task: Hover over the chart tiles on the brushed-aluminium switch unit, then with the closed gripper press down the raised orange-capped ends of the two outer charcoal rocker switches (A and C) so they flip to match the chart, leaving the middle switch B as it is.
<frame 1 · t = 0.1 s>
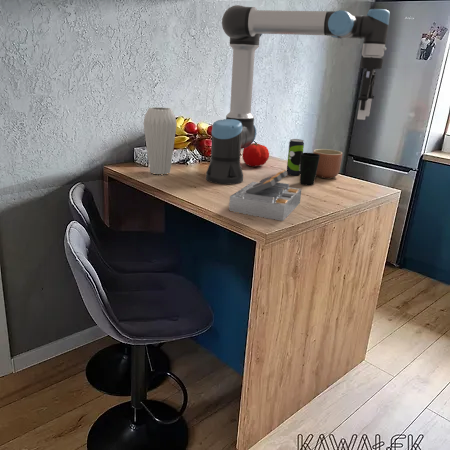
hand: (363, 117, 170), 28 cm above the table, fingers open, 13 cm apart
switch unit: (266, 206, 154), on the table
switch B: (267, 182, 151), point 9 cm above the table, hinge at -28.0°
beverage can: (293, 174, 201), on the table
planter: (324, 177, 200), on the table
switch A: (260, 186, 145), point 9 cm above the table, hinge at -28.0°
tomato: (254, 166, 213), on the table
cup: (306, 184, 186), on the table
vase: (160, 173, 190), on the table
switch C: (273, 177, 157), point 9 cm above the table, hinge at -28.0°
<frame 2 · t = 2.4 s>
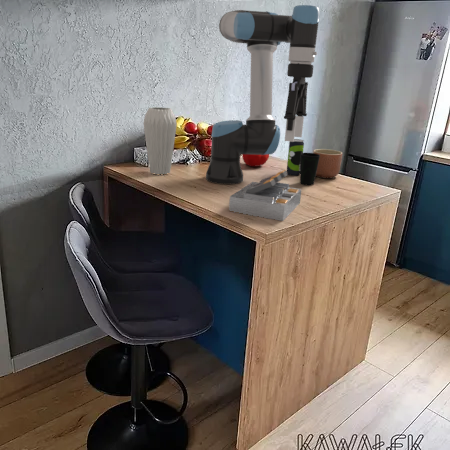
hand: (293, 138, 143), 24 cm above the table, fingers open, 9 cm apart
nothing on the table moved.
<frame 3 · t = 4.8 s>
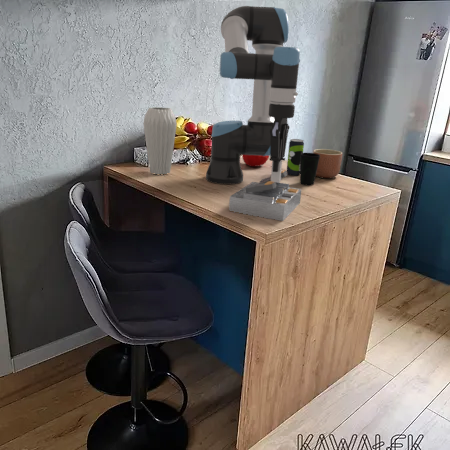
hand: (275, 181, 142), 11 cm above the table, fingers closed
switch A: (260, 186, 145), point 9 cm above the table, hinge at -16.8°
everything else where it was.
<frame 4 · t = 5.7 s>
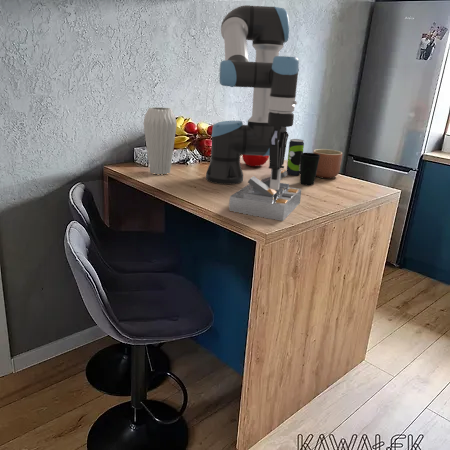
hand: (274, 188, 143), 9 cm above the table, fingers closed
switch A: (262, 187, 144), point 9 cm above the table, hinge at 28.1°
everything else where it was.
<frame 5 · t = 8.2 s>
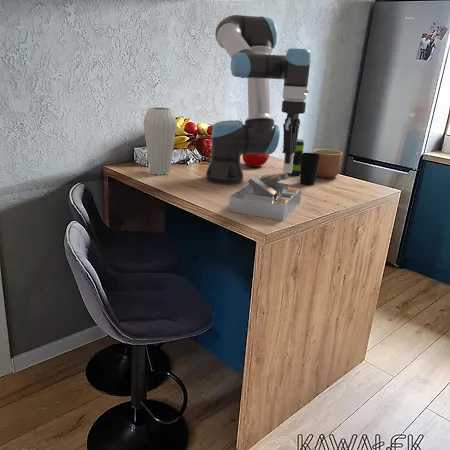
hand: (287, 172, 154), 11 cm above the table, fingers closed
switch C: (273, 177, 157), point 9 cm above the table, hinge at -17.9°
everything else where it was.
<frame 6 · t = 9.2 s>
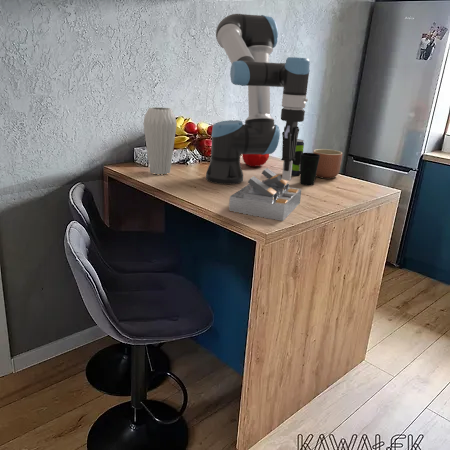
hand: (286, 179, 155), 9 cm above the table, fingers closed
switch C: (275, 177, 157), point 9 cm above the table, hinge at 28.1°
everything else where it was.
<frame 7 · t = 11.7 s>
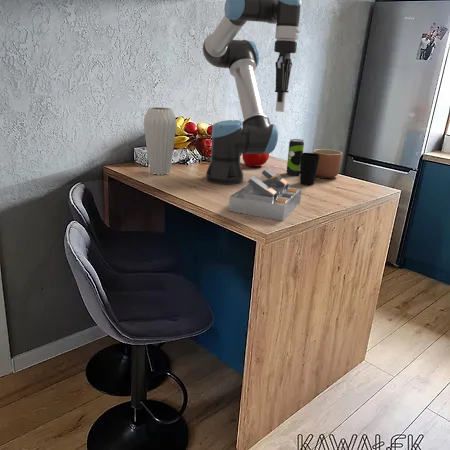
hand: (279, 111, 163), 29 cm above the table, fingers closed
nothing on the table moved.
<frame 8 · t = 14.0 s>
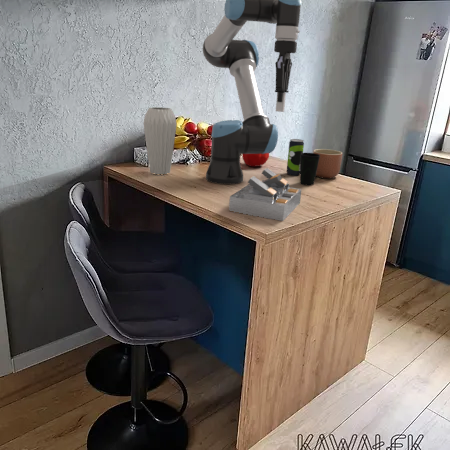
hand: (279, 111, 163), 29 cm above the table, fingers closed
nothing on the table moved.
at the end: switch A at +28° (first picture: -28°); switch C at +28° (first picture: -28°); switch B at -28° (first picture: -28°) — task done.
